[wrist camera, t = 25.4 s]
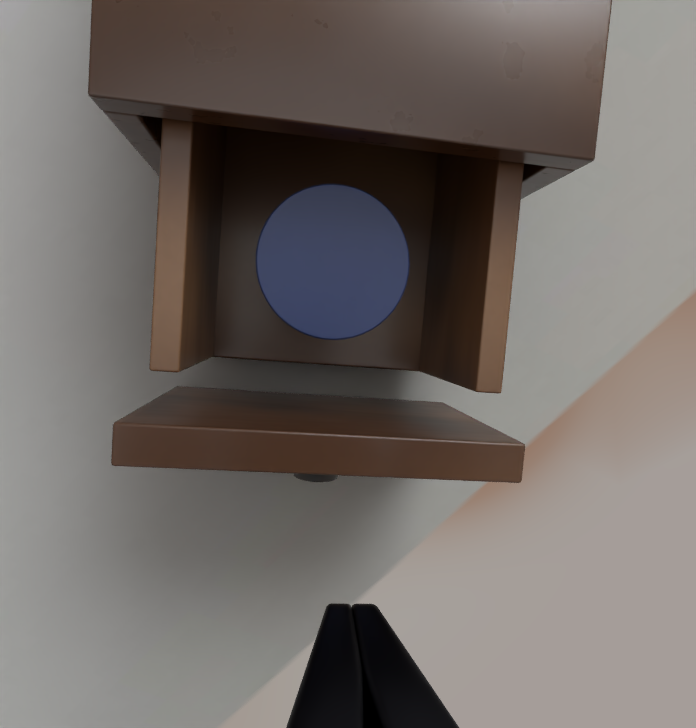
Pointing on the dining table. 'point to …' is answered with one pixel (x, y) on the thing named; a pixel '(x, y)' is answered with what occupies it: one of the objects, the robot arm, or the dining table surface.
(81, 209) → the dining table surface
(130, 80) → the cabinet
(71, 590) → the dining table surface
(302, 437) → the drawer
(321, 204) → the tin
